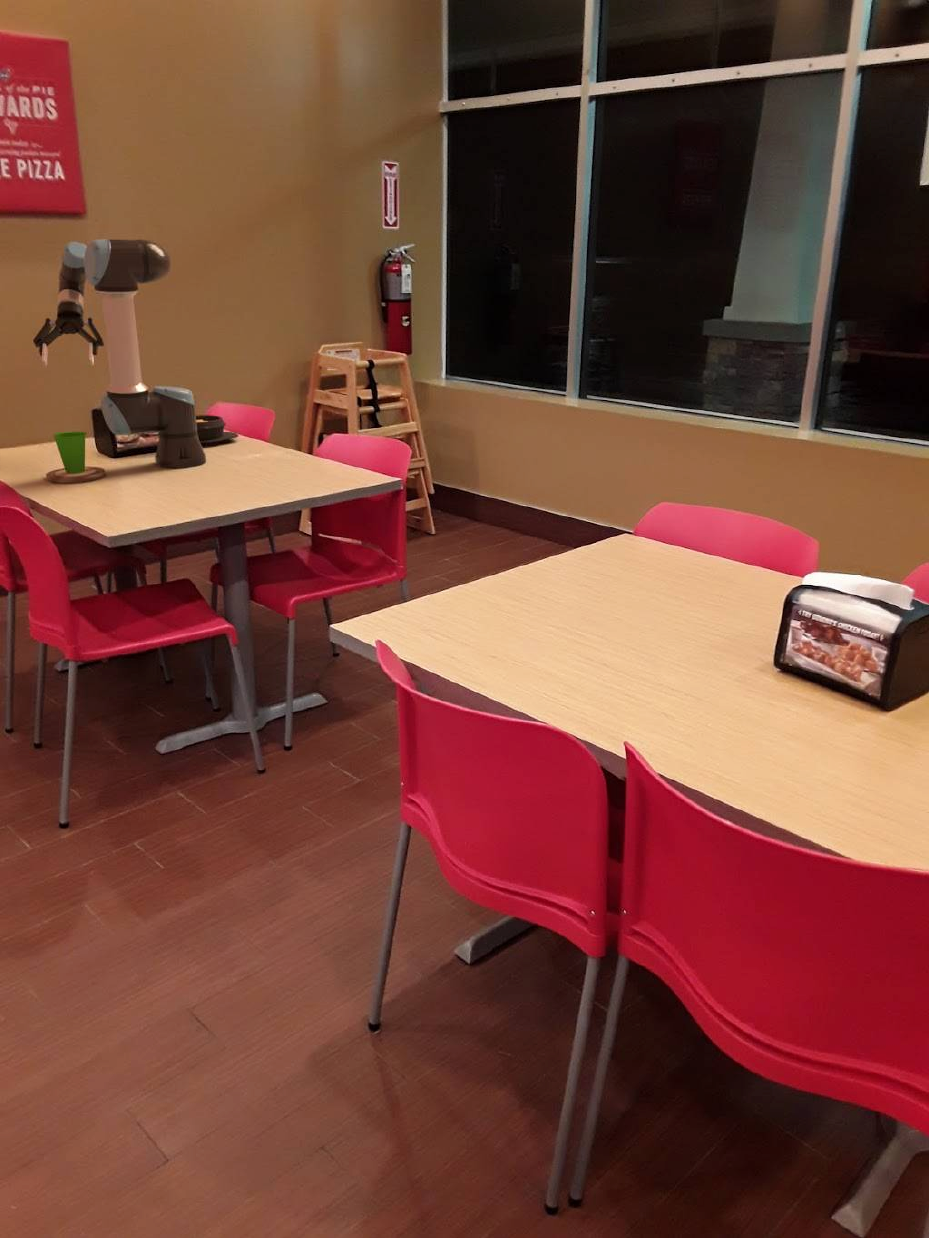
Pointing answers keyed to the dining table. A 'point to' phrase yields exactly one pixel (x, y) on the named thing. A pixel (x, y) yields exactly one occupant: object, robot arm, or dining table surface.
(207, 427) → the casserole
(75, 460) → the cup
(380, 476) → the dining table surface
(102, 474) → the walnut board
